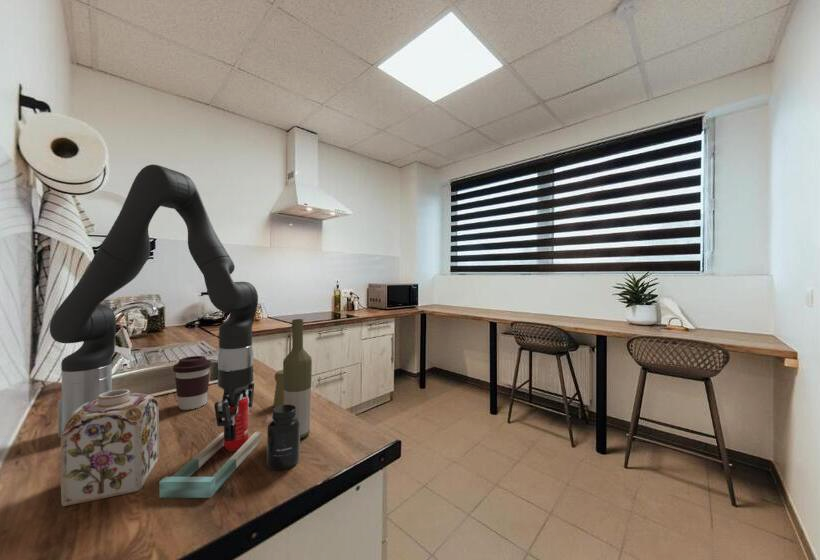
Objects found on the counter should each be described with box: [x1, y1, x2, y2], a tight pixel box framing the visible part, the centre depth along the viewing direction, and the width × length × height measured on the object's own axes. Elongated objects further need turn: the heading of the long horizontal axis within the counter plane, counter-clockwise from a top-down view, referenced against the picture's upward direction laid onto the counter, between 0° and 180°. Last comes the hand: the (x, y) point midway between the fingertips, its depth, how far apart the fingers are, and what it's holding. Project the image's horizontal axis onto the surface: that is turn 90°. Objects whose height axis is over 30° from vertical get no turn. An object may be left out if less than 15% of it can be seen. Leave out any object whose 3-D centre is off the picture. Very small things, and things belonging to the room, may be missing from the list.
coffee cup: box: [172, 355, 212, 411], centre depth 101 cm, size 10×10×15 cm
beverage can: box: [223, 395, 249, 452], centre depth 78 cm, size 5×5×12 cm
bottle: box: [282, 318, 313, 439], centre depth 83 cm, size 7×7×30 cm
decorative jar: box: [60, 389, 160, 507], centre depth 65 cm, size 12×12×18 cm
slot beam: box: [158, 431, 262, 499], centre depth 71 cm, size 10×21×3 cm, turn 0°
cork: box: [272, 369, 284, 408], centre depth 103 cm, size 6×6×11 cm
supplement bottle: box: [266, 405, 301, 471], centre depth 72 cm, size 7×7×12 cm
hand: (236, 433), depth 78 cm, fingers closed on beverage can, 5 cm apart
